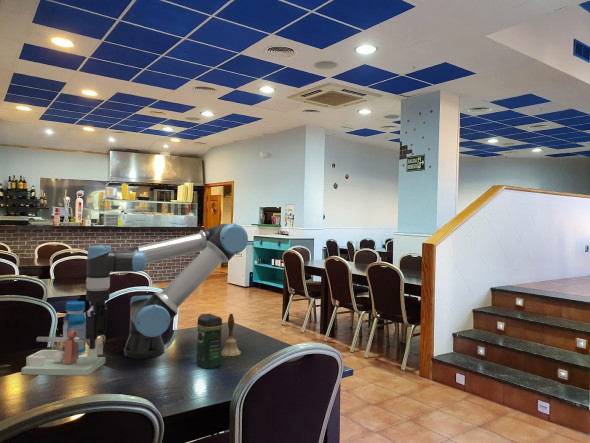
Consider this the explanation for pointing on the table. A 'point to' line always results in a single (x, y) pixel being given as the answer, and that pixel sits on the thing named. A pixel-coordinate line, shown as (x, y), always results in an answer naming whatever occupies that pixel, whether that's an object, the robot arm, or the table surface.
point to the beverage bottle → (75, 322)
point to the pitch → (59, 365)
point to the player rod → (71, 344)
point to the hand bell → (230, 341)
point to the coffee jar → (209, 341)
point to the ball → (59, 356)
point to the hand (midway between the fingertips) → (95, 355)
